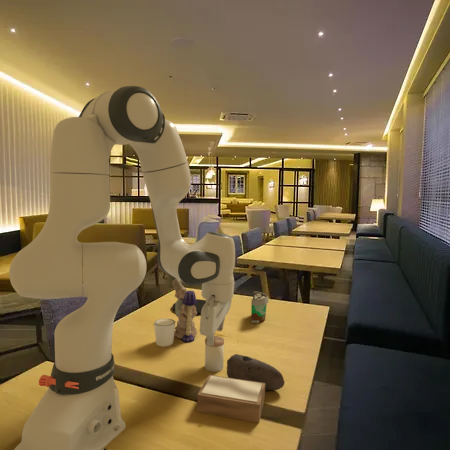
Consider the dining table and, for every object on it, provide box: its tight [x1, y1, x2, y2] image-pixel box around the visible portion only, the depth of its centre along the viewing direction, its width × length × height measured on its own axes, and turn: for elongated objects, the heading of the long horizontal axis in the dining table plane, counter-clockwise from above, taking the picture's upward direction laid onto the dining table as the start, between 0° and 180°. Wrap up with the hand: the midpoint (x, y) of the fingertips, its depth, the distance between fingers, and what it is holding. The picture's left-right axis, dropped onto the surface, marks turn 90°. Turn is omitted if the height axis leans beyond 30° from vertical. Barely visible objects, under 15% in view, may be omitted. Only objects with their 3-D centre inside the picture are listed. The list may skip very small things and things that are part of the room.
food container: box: [250, 290, 269, 324], centre depth 135 cm, size 12×6×10 cm, turn 171°
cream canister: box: [204, 335, 225, 373], centre depth 99 cm, size 5×5×8 cm
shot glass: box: [153, 318, 176, 347], centre depth 114 cm, size 7×7×7 cm
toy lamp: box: [181, 290, 197, 344], centre depth 116 cm, size 5×5×17 cm
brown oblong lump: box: [226, 353, 285, 391], centre depth 89 cm, size 15×5×7 cm, turn 64°
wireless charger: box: [172, 298, 206, 317], centre depth 148 cm, size 18×18×2 cm
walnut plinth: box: [196, 374, 266, 423], centre depth 81 cm, size 9×14×4 cm, turn 76°
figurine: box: [171, 278, 198, 340], centre depth 119 cm, size 9×8×20 cm
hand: (215, 337), depth 99 cm, fingers open, 8 cm apart
